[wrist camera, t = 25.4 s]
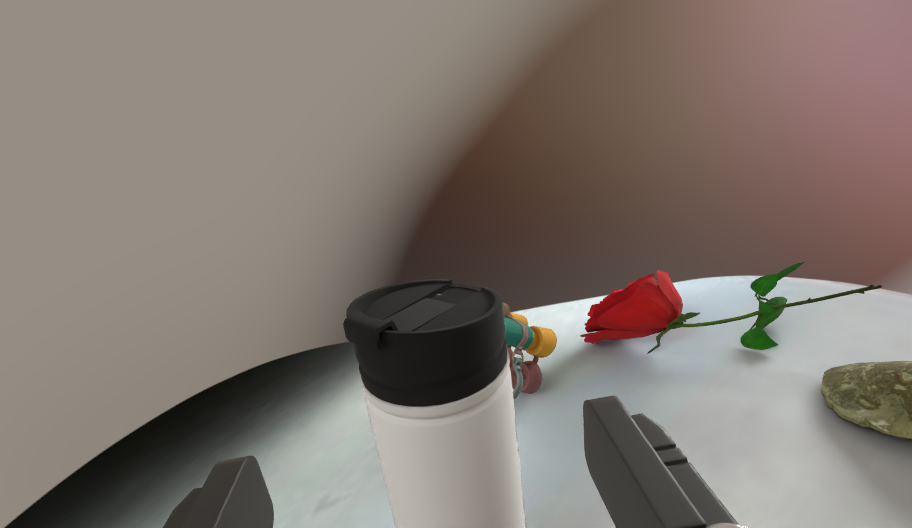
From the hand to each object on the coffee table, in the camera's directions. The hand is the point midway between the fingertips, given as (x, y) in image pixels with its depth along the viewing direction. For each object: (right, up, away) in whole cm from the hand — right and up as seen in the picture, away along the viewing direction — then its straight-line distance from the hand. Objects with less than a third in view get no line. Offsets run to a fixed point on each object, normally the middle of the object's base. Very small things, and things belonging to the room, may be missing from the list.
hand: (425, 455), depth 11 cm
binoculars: (+6, -8, +35) cm, 36 cm away
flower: (+29, -3, +38) cm, 48 cm away
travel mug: (+2, -15, +14) cm, 20 cm away
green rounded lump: (+37, -7, +25) cm, 45 cm away
